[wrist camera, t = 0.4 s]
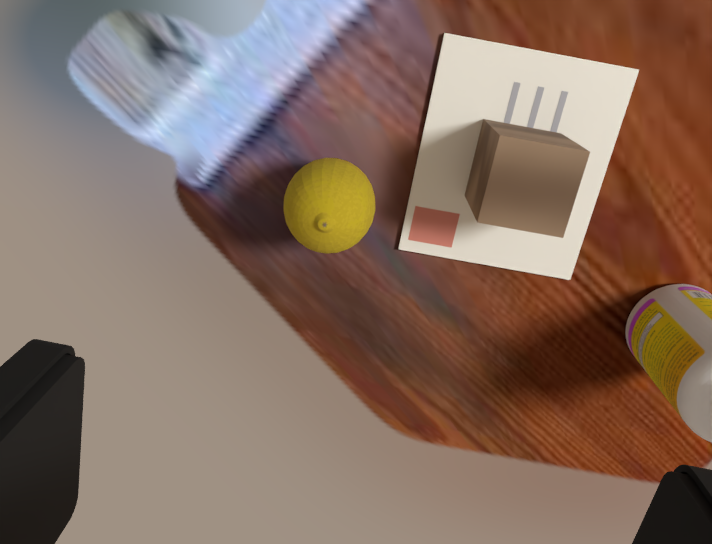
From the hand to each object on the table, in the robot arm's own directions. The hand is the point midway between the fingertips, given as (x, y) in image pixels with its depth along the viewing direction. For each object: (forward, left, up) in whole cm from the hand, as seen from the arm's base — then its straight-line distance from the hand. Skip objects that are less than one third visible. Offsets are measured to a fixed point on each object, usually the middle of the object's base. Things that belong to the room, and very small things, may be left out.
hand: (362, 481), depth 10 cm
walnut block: (0, +9, -33) cm, 34 cm away
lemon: (+4, -2, -33) cm, 33 cm away
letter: (0, +9, -33) cm, 34 cm away
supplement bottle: (+9, +23, -33) cm, 41 cm away
